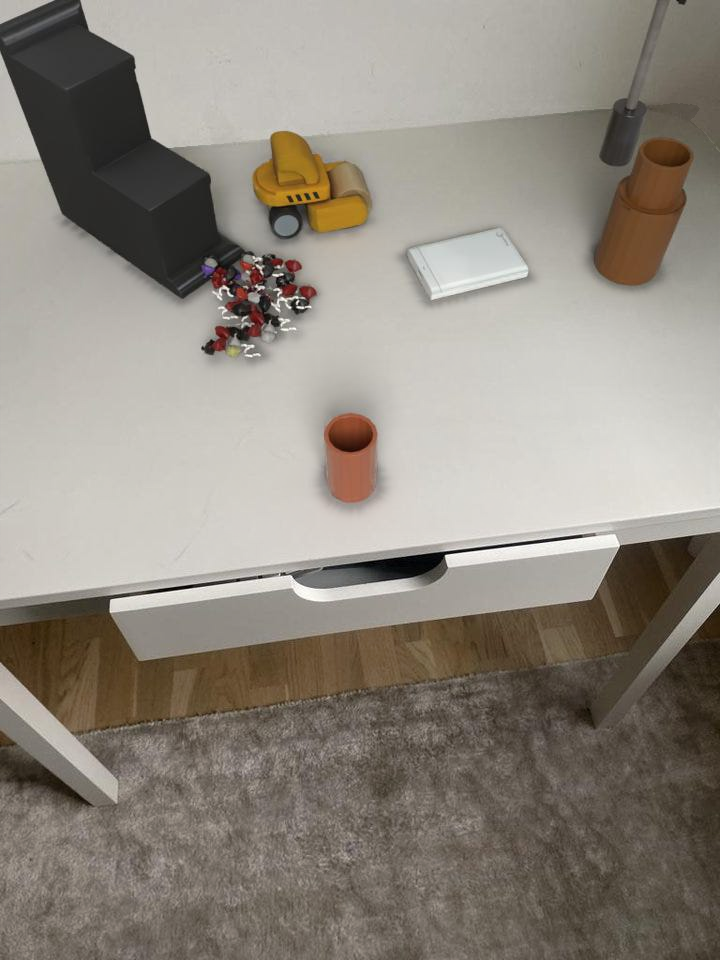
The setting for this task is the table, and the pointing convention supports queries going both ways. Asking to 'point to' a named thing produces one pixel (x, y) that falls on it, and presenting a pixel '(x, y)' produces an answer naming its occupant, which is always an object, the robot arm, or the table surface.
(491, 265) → the hard drive
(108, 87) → the black stepped block
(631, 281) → the flask
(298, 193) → the toy roller
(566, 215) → the table surface
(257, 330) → the toy collection
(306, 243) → the table surface
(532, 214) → the table surface
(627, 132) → the brush
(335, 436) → the holder
